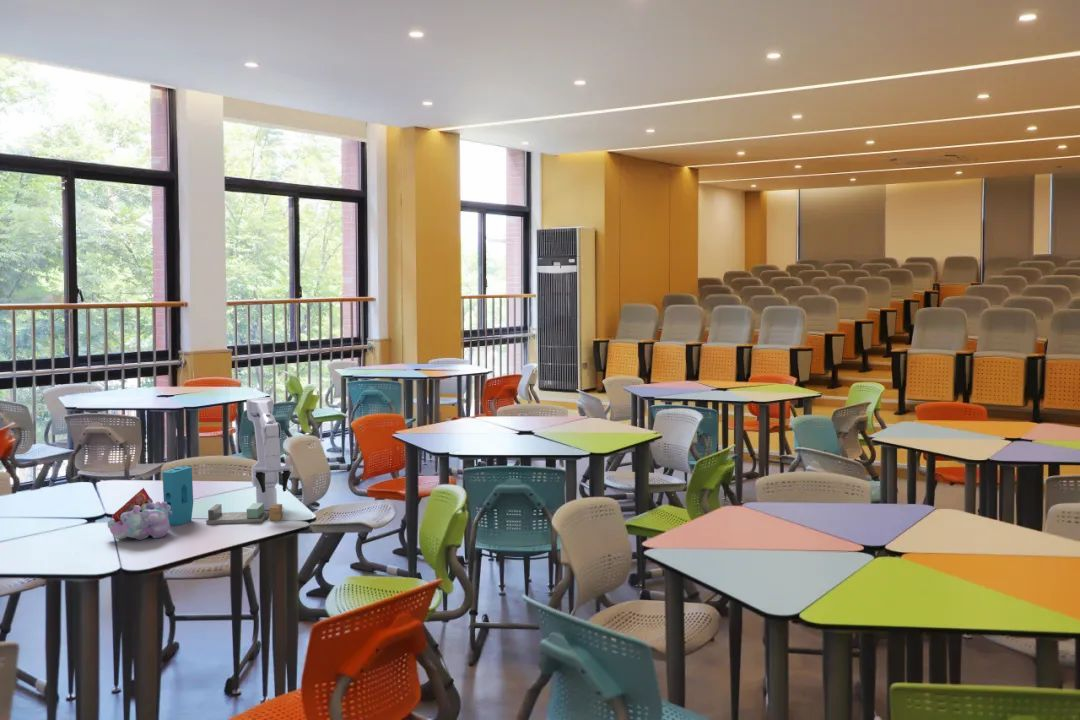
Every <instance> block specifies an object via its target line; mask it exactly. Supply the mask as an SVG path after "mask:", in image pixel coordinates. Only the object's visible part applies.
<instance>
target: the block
mask: <svg viewBox="0 0 1080 720" xmlns="http://www.w3.org/2000/svg"><path fill="white" fill-rule="evenodd" d="M193 488H194V486H193V467H192V466H178V467H175V468H172V469H168V470H165V471H162V491H163V492H162V493H163V502H167V505H170V506H171V509H170V511H172V514H171V515H168V519H169V524H170V526H176V527H177V526H182V525H184V524H186V523H189V522H191V521H192V516H193V509H194V489H193Z"/></svg>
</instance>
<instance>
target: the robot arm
mask: <svg viewBox="0 0 1080 720" xmlns="http://www.w3.org/2000/svg"><path fill="white" fill-rule="evenodd" d="M245 405H246V415H247V418H248V421H250V422H252V423H253V427H254V437H255V446H256V447H255V448H256V456H257V462H256V463H255V464H254V465H252V467H251V473H250V474H251V476H250V477H251V485H252V486H253V487H255V494H256V495H255V497H256V500H255V503H264V511H269V507H270V506H271V505H273V504H278V497H277V495H278V494H277V488H276V486H277V484H279V480H280V475H279V473H281V479H282V492H286V491H287V485H288V482H289V480H290V476H291V473H292V472H294V466H293V465H282V462H281V461H282V460H281V442H280V438H281V436H282V428H281V424H280V422H277V421H276V418H275V415H274V414H273V412H274V407H275V406H274V405H275V402H274V399H273V397H272V396H270V397H269V396H268V397H254V398H253V397H251V398H250V397H248V398H247V399H246V404H245Z"/></svg>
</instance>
